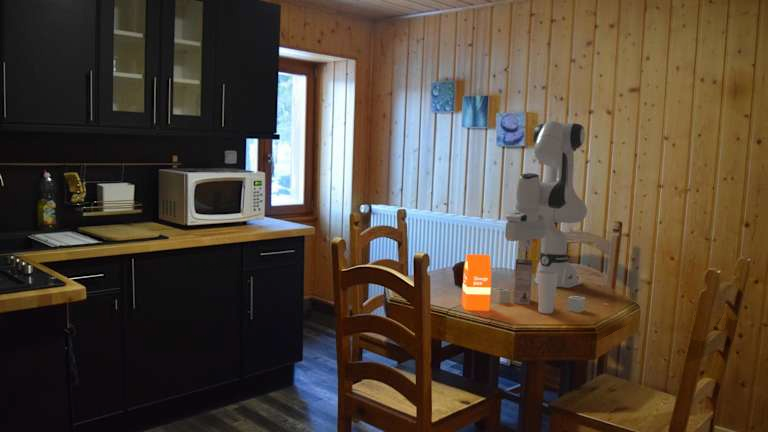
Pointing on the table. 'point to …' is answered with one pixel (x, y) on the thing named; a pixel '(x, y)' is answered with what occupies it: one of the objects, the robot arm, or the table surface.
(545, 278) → the drinking glass
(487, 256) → the orange juice
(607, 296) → the table surface
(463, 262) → the muffin
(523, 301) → the coffee box
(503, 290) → the digit block sage
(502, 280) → the table surface
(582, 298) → the digit block offwhite
